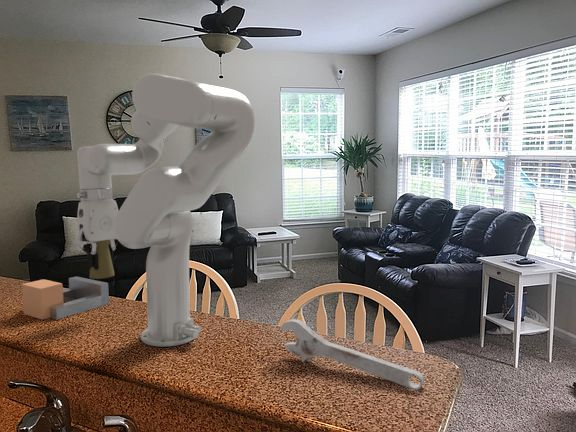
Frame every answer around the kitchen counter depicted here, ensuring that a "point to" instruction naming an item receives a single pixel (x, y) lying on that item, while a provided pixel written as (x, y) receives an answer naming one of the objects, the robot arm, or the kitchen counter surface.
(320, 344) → the wrench
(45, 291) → the block
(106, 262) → the cork
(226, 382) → the kitchen counter surface
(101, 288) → the u-shaped metal bracket
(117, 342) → the kitchen counter surface
